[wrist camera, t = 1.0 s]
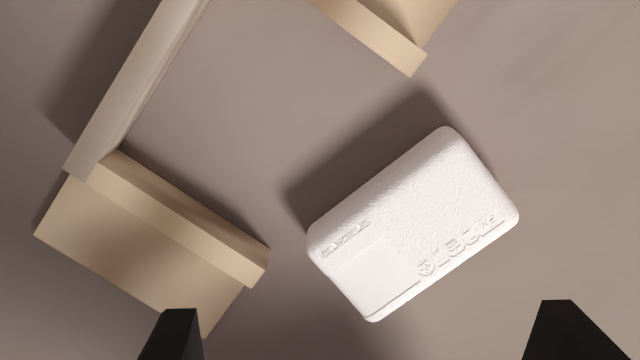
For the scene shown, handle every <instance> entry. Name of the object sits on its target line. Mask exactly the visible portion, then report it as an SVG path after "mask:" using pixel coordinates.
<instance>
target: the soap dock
mask: <svg viewBox="0 0 640 360" xmlns="http://www.w3.org/2000/svg"><path fill="white" fill-rule="evenodd" d="M306 1H307V2H308V3H310V4H311V5H312V6H314V7H315V8H316V9H318V10H319V11H321V12H322V13H323V14H325V15H326V16H327V17H329V18H330V19H331V20H333V21H334V22H335V23H337V24H338V25H339V26H341V27H342V28H343V29H345V30H346V31H347V32H349V33H350V34H352V35H353V36H354V37H356V38H357V39H358V40H360V41H361V42H362V43H364V44H365V45H366V46H368V47H369V48H370V49H372V50H373V51H374V52H376V53H377V54H379V55H380V56H381V57H383V58H384V59H385V60H387V61H388V62H389V63H391V64H392V65H393V66H395V67H396V68H397V69H399V70H400V71H401V72H403V73H404V74H405V75H407V76H408V77H411V76H412V74H413V73H414V72H415V70H416V69H417V68H418V67H419V65H420V64H421V63H422V61H423V60H424V59H425V57H426V56H427V55H428V54H427V53H425V52H424V51H423V50H421V49H422V48H423V46H424V45H425V43H426V42H427V41H428V39H429V38H430V37H431V35H432V34H433V33H434V31H435V30H436V29H437V27H438V26H439V25H440V23H441V22H442V21H443V19H444V18H445V17H446V15H447V14H448V13H449V11H450V10H451V9H452V7H453V6H454V5H455V3H456V2H457V1H458V0H306ZM209 2H210V0H162V1H161V3H160V5H159V6H158V8H157V10H156V11H155V13H154V15H153V16H152V18H151V20H150V21H149V23H148V25H147V26H146V28H145V30H144V31H143V33H142V34H141V36H140V38H139V39H138V41H137V43H136V44H135V46H134V48H133V49H132V51H131V53H130V54H129V56H128V58H127V59H126V61H125V63H124V64H123V66H122V68H121V69H120V71H119V73H118V74H117V76H116V78H115V79H114V81H113V83H112V84H111V86H110V88H109V89H108V91H107V93H106V94H105V96H104V98H103V99H102V101H101V103H100V104H99V106H98V108H97V109H96V111H95V113H94V114H93V116H92V118H91V119H90V121H89V123H88V124H87V126H86V128H85V129H84V131H83V133H82V134H81V136H80V138H79V139H78V141H77V143H76V144H75V146H74V148H73V149H72V151H71V153H70V154H69V156H68V158H67V159H66V161H65V163H64V164H63V166H62V168H61V169H63V170H65V171H66V172H68V173H69V174H70V175H69V176H68V178H67V180H66V181H65V183H64V185H63V186H62V188H61V190H60V191H59V193H58V195H57V196H56V198H55V199H54V201H53V203H52V204H51V206H50V208H49V209H48V211H47V213H46V214H45V216H44V218H43V219H42V221H41V223H40V224H39V226H38V227H37V229H36V231H35V232H34V234H33V235H34V236H35V237H37V238H38V239H40V240H42V241H43V242H45V243H47V244H48V245H50V246H52V247H53V248H55V249H56V250H58V251H60V252H61V253H63V254H65V255H66V256H68V257H70V258H71V259H73V260H74V261H76V262H78V263H79V264H81V265H83V266H84V267H86V268H88V269H89V270H91V271H93V272H94V273H96V274H97V275H99V276H101V277H102V278H104V279H106V280H107V281H109V282H111V283H112V284H114V285H115V286H117V287H119V288H120V289H122V290H124V291H125V292H127V293H129V294H130V295H132V296H133V297H135V298H137V299H138V300H140V301H142V302H143V303H145V304H147V305H148V306H150V307H151V308H153V309H155V310H156V311H158V312H160V313H162V312H163V311H164V310H166V309H176V308H197V315H198V321H199V328H200V335H201V338H202V339H204V340H205V338H206V337H207V336H208V334H209V333H210V332H211V330H212V329H213V328H214V326H215V325H216V324H217V322H218V321H219V320H220V318H221V317H222V316H223V314H224V313H225V312H226V310H227V309H228V308H229V306H230V305H231V303H232V302H233V301H234V299H235V298H236V297H237V295H238V294H239V293H240V291H241V290H242V289H243V287H244V286H247V287H249V288H250V289H252V287H253V286H254V285H255V283H256V282H257V281H258V279H259V278H260V277H261V275H262V274H263V273H264V271H265V270H266V265H267V261H268V257H269V253H270V248H268V247H266V246H265V245H263V244H262V243H260V242H259V241H257V240H256V239H254V238H253V237H251V236H250V235H248V234H247V233H245V232H244V231H242V230H240V229H239V228H237V227H236V226H234V225H233V224H231V223H230V222H228V221H227V220H225V219H224V218H222V217H221V216H219V215H217V214H216V213H214V212H213V211H211V210H210V209H208V208H207V207H205V206H204V205H202V204H201V203H199V202H198V201H196V200H194V199H193V198H191V197H190V196H188V195H187V194H185V193H184V192H182V191H181V190H179V189H178V188H176V187H175V186H173V185H172V184H170V183H168V182H167V181H165V180H164V179H162V178H161V177H159V176H158V175H156V174H155V173H153V172H152V171H150V170H149V169H147V168H145V167H144V166H142V165H141V164H139V163H138V162H136V161H135V160H133V159H132V158H130V157H129V156H127V155H126V154H124V153H123V152H121V151H119V150H118V147H119V146H120V144H121V143H122V141H123V139H124V138H125V136H126V135H127V133H128V131H129V130H130V128H131V127H132V125H133V123H134V122H135V120H136V119H137V117H138V115H139V114H140V112H141V111H142V109H143V107H144V106H145V104H146V103H147V101H148V99H149V98H150V96H151V95H152V93H153V91H154V90H155V88H156V87H157V85H158V83H159V82H160V80H161V79H162V77H163V75H164V74H165V72H166V71H167V69H168V67H169V66H170V64H171V63H172V61H173V59H174V58H175V56H176V55H177V53H178V51H179V50H180V48H181V47H182V45H183V43H184V42H185V40H186V39H187V37H188V35H189V34H190V32H191V31H192V29H193V27H194V26H195V24H196V23H197V21H198V19H199V18H200V16H201V15H202V13H203V11H204V10H205V8H206V7H207V5H208V3H209Z"/></svg>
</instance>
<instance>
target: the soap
mask: <svg viewBox="0 0 640 360" xmlns="http://www.w3.org/2000/svg"><path fill="white" fill-rule="evenodd" d="M518 220H519V213H518V210H517V208H516V207H515V205H514V204H513V202H512V201H511V200H510V199H509V197H508V196H507V194H506V193H505V192H504V190H503V189H502V188H501V187H500V185H499V184H498V183H497V181H496V180H495V179H494V177H493V176H492V175H491V173H490V172H489V171H488V169H487V168H486V167H485V166H484V164H483V163H482V162H481V161H480V159H479V158H478V157H477V155H476V154H475V153H474V151H473V150H472V148H471V147H470V146H469V144H468V143H467V142H466V141H465V139H464V138H463V137H462V136H461V135H459V134H458V133H457V132H456V131H455V130H454V129H453V128H451V127H448V126H442V127H439V128H437V129H436V130H434V131H433V132H432V133H430V134H429V135H428V136H427V137H425V138H424V139H423V140H421V141H420V142H419V143H417V144H416V145H415V146H413V147H412V148H411V149H410V150H408V151H407V152H406V153H404V154H403V155H402V156H400V157H399V158H398V159H396V160H395V161H394V162H393V163H391V164H390V165H389V166H387V167H386V168H384V169H383V170H382V171H381V172H379V173H378V174H377V175H375V176H374V177H373V178H371V179H370V180H369V181H368V182H366V183H365V184H364V185H362V186H361V187H360V188H358V189H357V190H356V191H354V192H353V193H352V194H350V195H349V196H348V197H347V198H345V199H344V200H343V201H341V202H340V203H339V204H337V205H336V206H335V207H334V208H332V209H331V210H329V211H328V212H327V213H326V214H324V215H323V216H322V217H320V218H319V219H318V220H316V221H315V222H314V223H313V224H312V225H311V226H310V227H309V228H308V231H307V237H306V247H305V248H306V252H307V254H308V256H309V257H310V258H311V259H312V261H313V262H314V263H315V264H316V265H317V266H318V267H319V268H320V270H321V271H322V272H323V273H324V274H325V275H327V276H328V277H329V278H330V279H331V280H332V282H333V283H334V284H335V285H336V286H337V287H338V288H339V289H340V291H341V292H342V293H343V294H344V295H345V296H346V297H347V298H348V300H349V301H350V302H351V303H352V304H353V305H354V306H355V307H356V309H357V310H358V311H359V312H360V313H361V314H362V316H363V318H364V319H365V320H367V321H369V322H377V321H379V320H381V319H383V318H384V317H386V316H387V315H388V314H390V313H391V312H393V311H394V310H396V309H397V308H398V307H400V306H401V305H403V304H404V303H405V302H407V301H408V300H410V299H411V298H413V297H414V296H415V295H417V294H418V293H420V292H421V291H423V290H424V289H425V288H427V287H428V286H430V285H431V284H433V283H434V282H436V281H437V280H438V279H440V278H441V277H443V276H444V275H445V274H447V273H448V272H450V271H451V270H453V269H454V268H455V267H457V266H458V265H460V264H461V263H462V262H464V261H465V260H467V259H468V258H470V257H471V256H472V255H474V254H475V253H477V252H478V251H480V250H481V249H482V248H484V247H485V246H487V245H488V244H489V243H491V242H492V241H494V240H495V239H497V238H498V237H500V236H501V235H502V234H504V233H505V232H507V231H508V230H509V229H511V228H512V227H513V226H514V225H515V224H516V223H517V222H518Z"/></svg>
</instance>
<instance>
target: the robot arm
mask: <svg viewBox="0 0 640 360" xmlns="http://www.w3.org/2000/svg"><path fill="white" fill-rule="evenodd" d="M137 360H204V355H203V349H202V342H201V335H200V328H199V321H198V315H197V308H176V309H166V310H164V311H163V312H162V313H161V315H160V317H159V319H158V321H157V323H156V325H155V327H154V329H153V331H152V333H151V335H150V337H149V339H148V341H147V342H146V344H145V346H144V348H143V350H142V352H141V353H140V355H139V357H138V358H137ZM522 360H631V359H630V358H629V357H628V356H627V355H626V354H625V353H624V352H623V351H622V350H621V349H620V348H619V347H618V346H617V345H616V344H615V343H614V342H613V341H612V340H611V339H610V338H609V337H608V336H607V335H606V334H605V333H604V332H603V331H602V330H601V329H600V328H599V327H598V326H597V325H596V324H595V323H594V322H593V321H592V320H591V319H590V318H589V317H588V316H587V315H586V314H585V313H584V312H583V311H582V310H581V309H580V308H579V307H578V306H577V305H576V304H575V303H574V302H573V301H572V300H542V302H541V305H540V308H539V311H538V314H537V316H536V319H535V322H534V325H533V328H532V331H531V334H530V337H529V340H528V343H527V346H526V349H525V351H524V354H523V357H522Z"/></svg>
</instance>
